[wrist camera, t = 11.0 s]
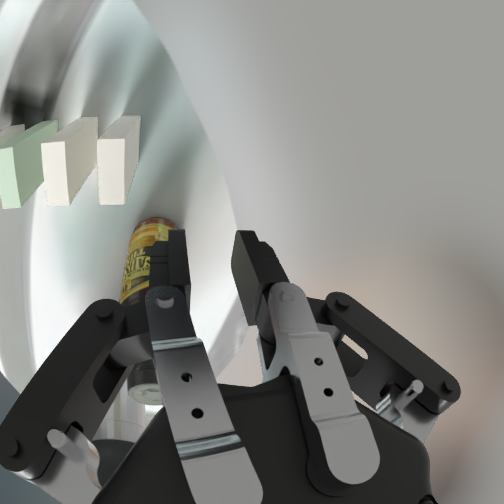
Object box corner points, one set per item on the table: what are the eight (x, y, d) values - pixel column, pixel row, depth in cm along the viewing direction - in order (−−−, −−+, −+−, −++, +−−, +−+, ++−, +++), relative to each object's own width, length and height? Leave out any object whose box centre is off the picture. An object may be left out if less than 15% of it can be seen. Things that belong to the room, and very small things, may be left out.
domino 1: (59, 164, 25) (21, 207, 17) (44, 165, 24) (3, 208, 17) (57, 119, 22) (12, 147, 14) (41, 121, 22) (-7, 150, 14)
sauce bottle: (151, 204, 31) (143, 360, 15) (192, 233, 34) (219, 386, 19) (119, 243, 33) (100, 397, 17) (159, 268, 36) (168, 416, 21)
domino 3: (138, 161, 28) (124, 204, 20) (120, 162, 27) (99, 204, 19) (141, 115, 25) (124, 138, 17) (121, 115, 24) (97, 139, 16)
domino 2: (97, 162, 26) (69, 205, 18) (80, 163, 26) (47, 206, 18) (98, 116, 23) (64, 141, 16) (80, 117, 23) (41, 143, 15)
